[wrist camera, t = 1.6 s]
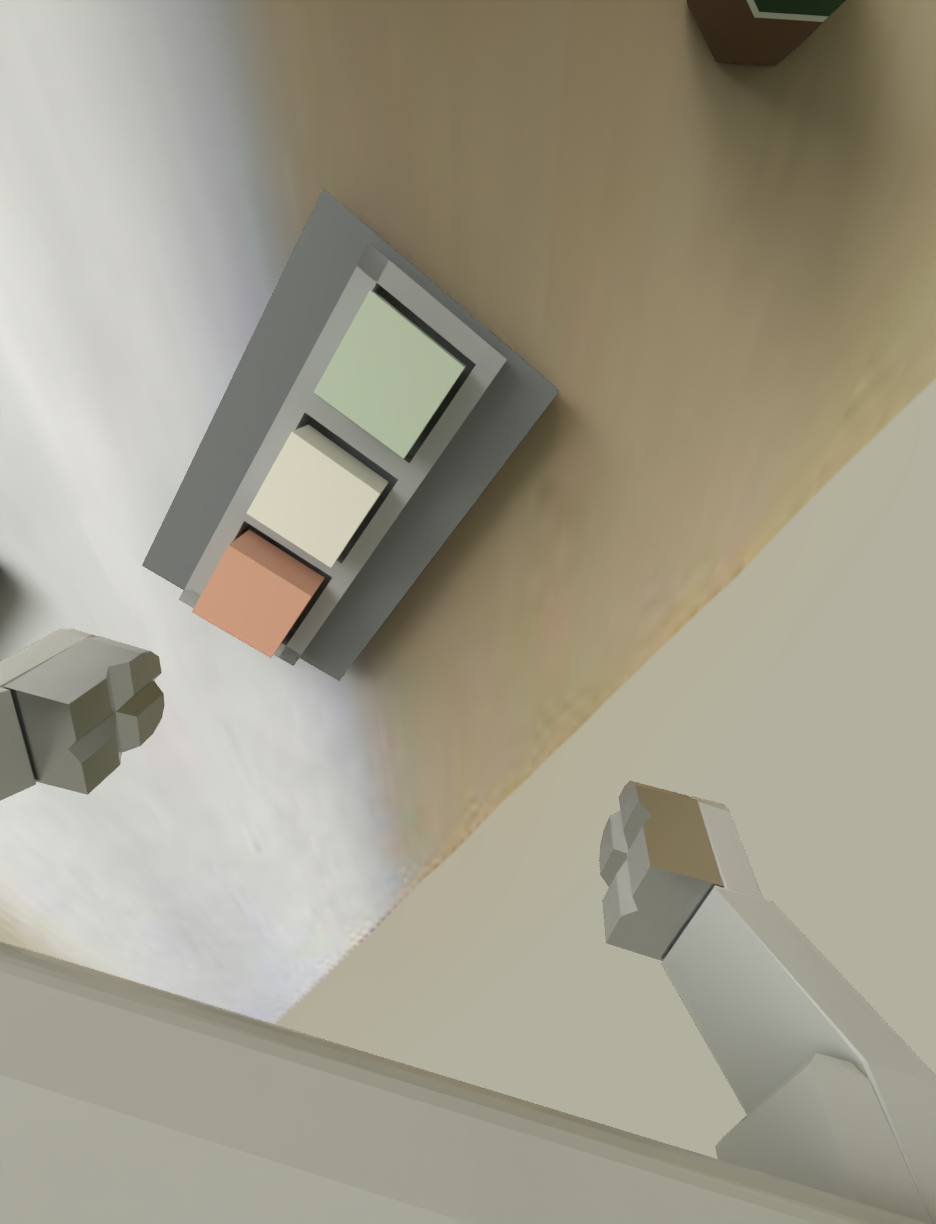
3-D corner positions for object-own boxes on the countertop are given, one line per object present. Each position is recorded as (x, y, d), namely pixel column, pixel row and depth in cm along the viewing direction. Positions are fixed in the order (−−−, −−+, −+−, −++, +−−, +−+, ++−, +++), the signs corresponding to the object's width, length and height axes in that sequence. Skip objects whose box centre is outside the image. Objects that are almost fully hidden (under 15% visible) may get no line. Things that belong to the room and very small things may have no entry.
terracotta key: (213, 592, 35) (191, 612, 33) (249, 529, 33) (228, 544, 30) (286, 635, 37) (270, 657, 34) (324, 577, 35) (311, 596, 32)
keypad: (165, 550, 39) (124, 576, 34) (337, 203, 29) (311, 176, 25) (348, 660, 43) (332, 695, 38) (553, 387, 33) (564, 392, 29)
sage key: (328, 388, 29) (313, 392, 27) (381, 296, 27) (369, 290, 24) (410, 449, 31) (403, 458, 28) (466, 366, 29) (464, 367, 26)
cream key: (265, 500, 32) (246, 513, 30) (308, 424, 30) (291, 431, 27) (342, 550, 34) (330, 567, 31) (388, 482, 32) (380, 493, 29)
